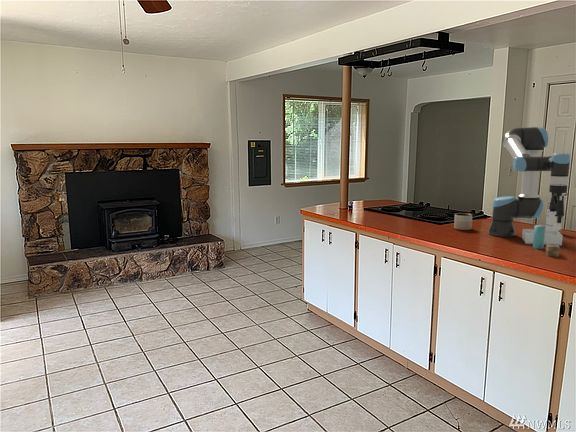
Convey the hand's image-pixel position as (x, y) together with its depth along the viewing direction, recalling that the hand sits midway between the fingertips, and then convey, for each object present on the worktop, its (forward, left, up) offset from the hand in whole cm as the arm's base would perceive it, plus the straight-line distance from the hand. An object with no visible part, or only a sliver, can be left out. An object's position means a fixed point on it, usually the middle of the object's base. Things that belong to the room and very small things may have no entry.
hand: (554, 226), depth 217 cm
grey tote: (0, +29, -15) cm, 32 cm away
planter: (-41, +56, -15) cm, 71 cm away
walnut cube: (0, 0, -15) cm, 15 cm away
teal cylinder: (-4, +14, -15) cm, 21 cm away
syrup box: (+11, +57, -15) cm, 60 cm away
